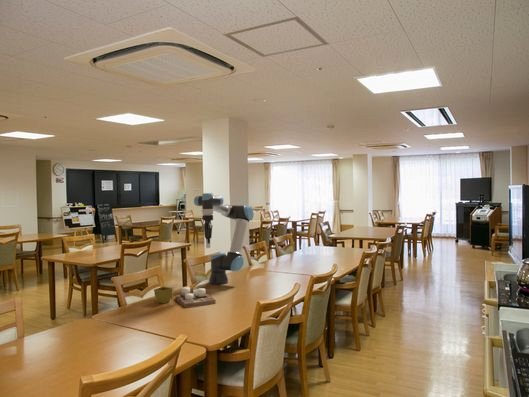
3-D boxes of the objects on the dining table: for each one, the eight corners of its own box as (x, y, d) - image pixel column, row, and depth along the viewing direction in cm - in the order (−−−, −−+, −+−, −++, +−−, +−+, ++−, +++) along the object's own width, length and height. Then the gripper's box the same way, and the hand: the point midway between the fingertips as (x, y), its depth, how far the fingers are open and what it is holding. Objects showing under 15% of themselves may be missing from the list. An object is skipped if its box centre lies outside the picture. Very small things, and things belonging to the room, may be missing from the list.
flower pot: (153, 303, 254) (153, 289, 254) (163, 299, 262) (162, 286, 262) (164, 304, 250) (163, 290, 250) (173, 301, 258) (173, 287, 258)
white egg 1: (180, 293, 264) (180, 287, 264) (188, 292, 267) (188, 286, 267) (183, 295, 259) (182, 289, 259) (191, 294, 262) (191, 288, 262)
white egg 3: (195, 295, 261) (195, 288, 261) (203, 294, 263) (203, 287, 263) (198, 297, 256) (198, 290, 256) (206, 296, 258) (206, 289, 258)
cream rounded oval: (184, 300, 257) (183, 294, 257) (192, 299, 260) (192, 292, 260) (186, 302, 252) (186, 295, 252) (194, 301, 255) (194, 294, 255)
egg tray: (175, 298, 265) (175, 294, 265) (203, 295, 274) (203, 291, 274) (185, 307, 243) (185, 303, 243) (215, 303, 253) (215, 299, 253)
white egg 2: (192, 296, 268) (192, 290, 268) (200, 295, 270) (200, 289, 270) (194, 298, 263) (194, 291, 263) (202, 296, 266) (202, 290, 265)
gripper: (199, 214, 283) (200, 247, 283) (205, 215, 272) (206, 249, 272) (209, 214, 287) (210, 246, 287) (215, 215, 275) (216, 248, 275)
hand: (208, 247), depth 279 cm, fingers closed
